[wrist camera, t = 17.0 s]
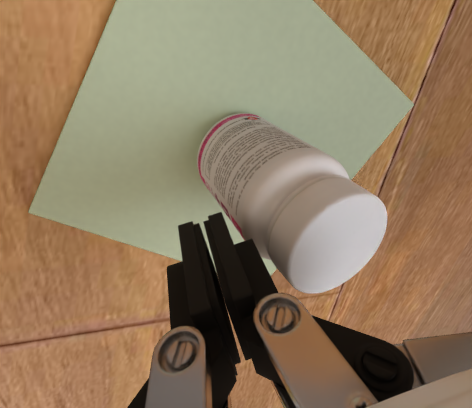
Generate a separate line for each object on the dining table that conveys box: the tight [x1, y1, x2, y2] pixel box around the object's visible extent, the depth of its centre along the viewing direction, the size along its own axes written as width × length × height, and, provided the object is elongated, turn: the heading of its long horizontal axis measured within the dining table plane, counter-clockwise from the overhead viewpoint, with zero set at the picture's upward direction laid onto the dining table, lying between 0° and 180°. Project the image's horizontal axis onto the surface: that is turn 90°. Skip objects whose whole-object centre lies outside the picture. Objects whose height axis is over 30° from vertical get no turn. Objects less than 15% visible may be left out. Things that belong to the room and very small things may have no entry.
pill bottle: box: [197, 113, 387, 293], centre depth 13 cm, size 5×5×8 cm
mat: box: [28, 0, 414, 276], centre depth 17 cm, size 16×16×1 cm
